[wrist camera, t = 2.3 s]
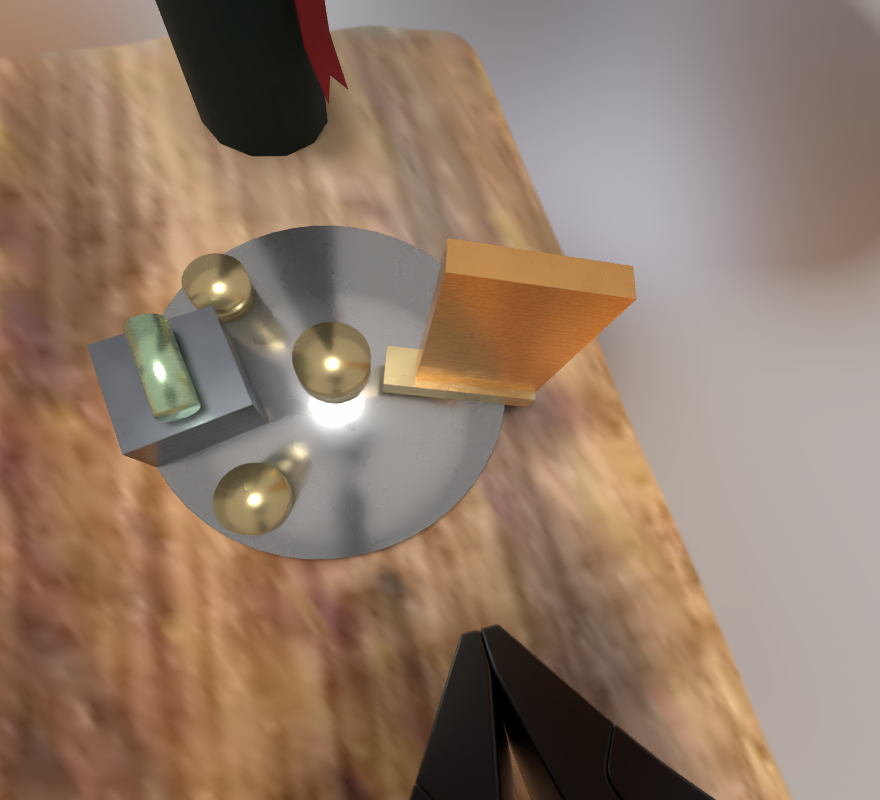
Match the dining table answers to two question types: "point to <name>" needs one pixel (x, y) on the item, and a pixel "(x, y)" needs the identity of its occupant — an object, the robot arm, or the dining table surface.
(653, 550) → the dining table surface
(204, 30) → the wine bottle
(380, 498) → the levelling plate
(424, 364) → the lever
